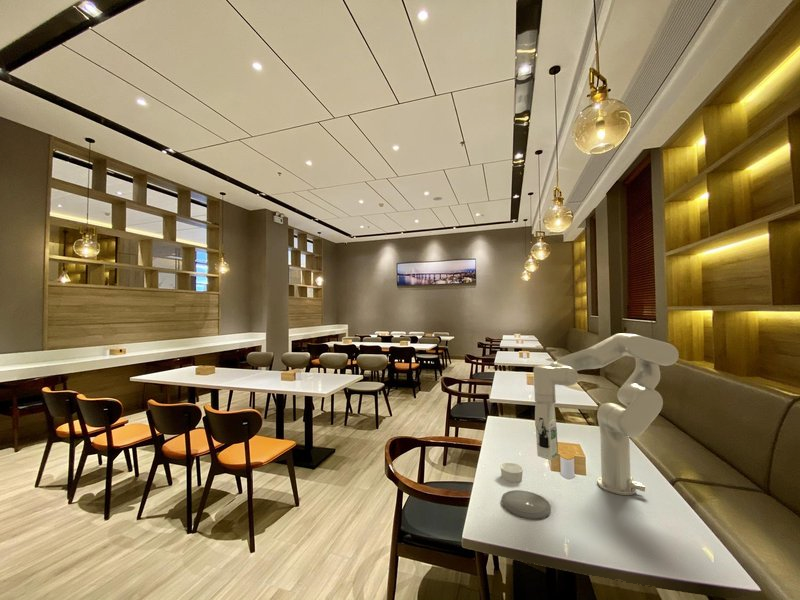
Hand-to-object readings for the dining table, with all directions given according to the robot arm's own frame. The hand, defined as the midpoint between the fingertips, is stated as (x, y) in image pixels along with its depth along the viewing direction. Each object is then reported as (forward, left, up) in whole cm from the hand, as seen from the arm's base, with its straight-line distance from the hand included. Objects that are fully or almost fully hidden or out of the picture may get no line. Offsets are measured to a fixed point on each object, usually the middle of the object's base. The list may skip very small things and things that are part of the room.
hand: (547, 444), depth 129 cm
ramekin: (+13, +2, -17) cm, 22 cm away
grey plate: (+1, +18, -16) cm, 25 cm away
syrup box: (0, 0, -5) cm, 5 cm away
